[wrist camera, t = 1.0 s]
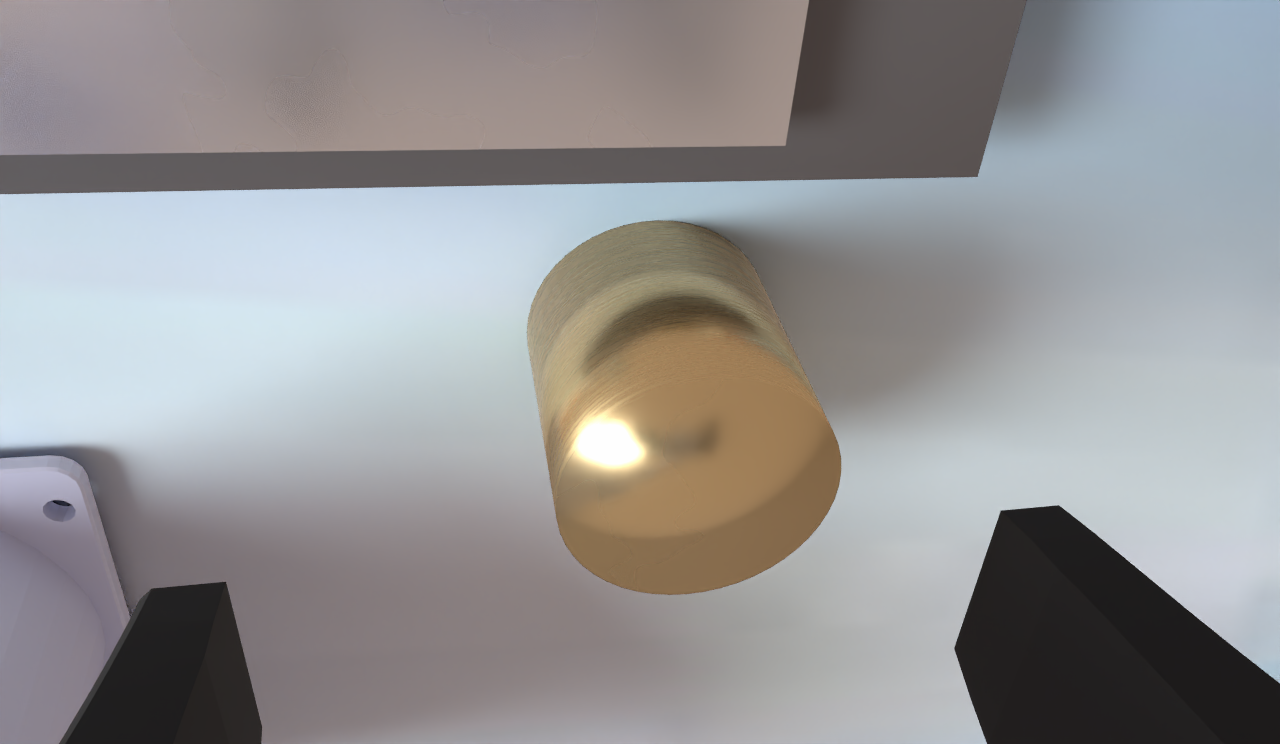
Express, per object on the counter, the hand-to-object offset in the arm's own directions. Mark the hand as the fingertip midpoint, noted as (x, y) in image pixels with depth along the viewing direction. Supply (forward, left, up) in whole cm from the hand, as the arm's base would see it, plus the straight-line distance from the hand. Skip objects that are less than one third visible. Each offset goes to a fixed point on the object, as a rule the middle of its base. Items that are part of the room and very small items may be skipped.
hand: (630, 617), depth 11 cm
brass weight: (-3, -2, -10) cm, 10 cm away
